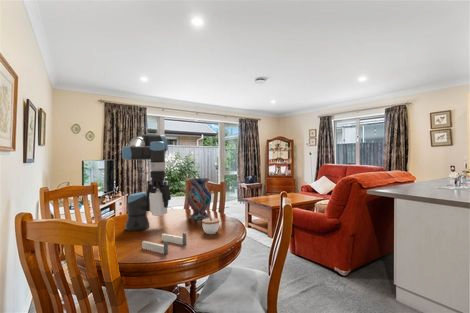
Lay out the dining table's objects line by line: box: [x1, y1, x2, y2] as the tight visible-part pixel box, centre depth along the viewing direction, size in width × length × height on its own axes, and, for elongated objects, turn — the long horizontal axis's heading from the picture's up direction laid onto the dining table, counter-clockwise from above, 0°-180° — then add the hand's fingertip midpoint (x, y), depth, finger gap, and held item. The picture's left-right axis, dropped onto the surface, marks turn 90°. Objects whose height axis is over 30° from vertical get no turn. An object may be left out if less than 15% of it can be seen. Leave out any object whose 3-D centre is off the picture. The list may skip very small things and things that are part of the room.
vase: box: [187, 177, 212, 221], centre depth 187 cm, size 18×18×30 cm
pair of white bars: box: [141, 232, 187, 255], centre depth 126 cm, size 17×16×6 cm
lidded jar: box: [201, 216, 220, 235], centre depth 148 cm, size 11×11×9 cm
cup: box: [149, 191, 166, 217], centre depth 128 cm, size 9×9×12 cm
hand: (158, 212), depth 128 cm, fingers closed on cup, 9 cm apart
